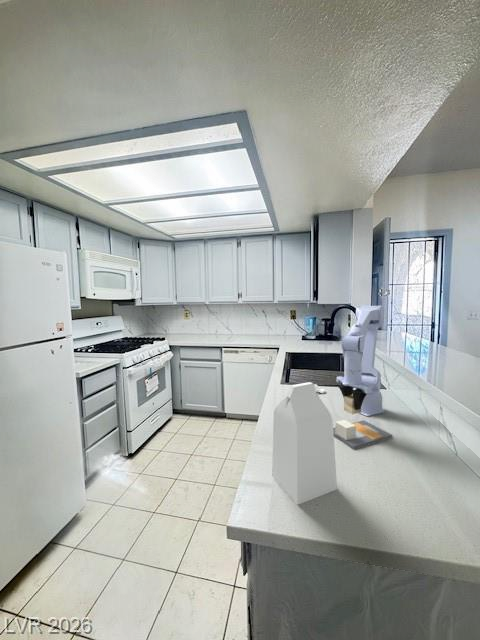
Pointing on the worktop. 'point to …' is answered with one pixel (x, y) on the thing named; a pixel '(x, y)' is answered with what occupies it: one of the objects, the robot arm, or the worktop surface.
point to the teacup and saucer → (319, 389)
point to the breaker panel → (364, 435)
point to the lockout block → (350, 405)
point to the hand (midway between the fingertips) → (352, 406)
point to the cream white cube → (345, 429)
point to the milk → (303, 445)
